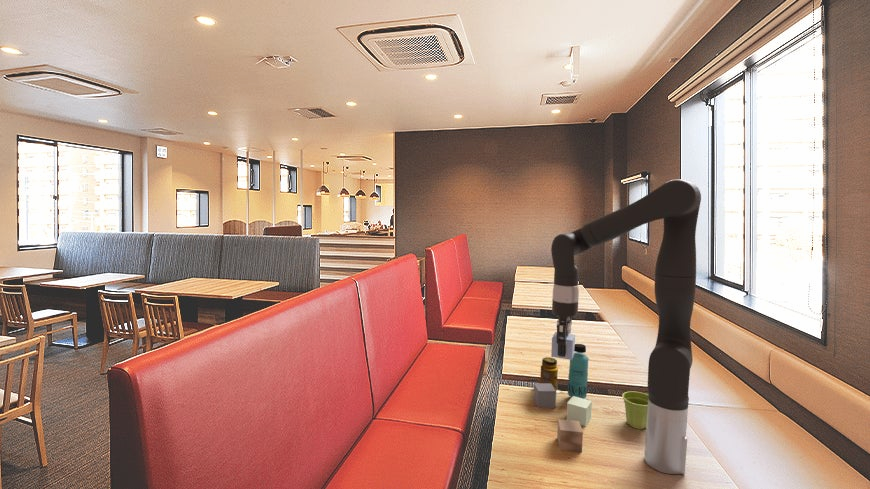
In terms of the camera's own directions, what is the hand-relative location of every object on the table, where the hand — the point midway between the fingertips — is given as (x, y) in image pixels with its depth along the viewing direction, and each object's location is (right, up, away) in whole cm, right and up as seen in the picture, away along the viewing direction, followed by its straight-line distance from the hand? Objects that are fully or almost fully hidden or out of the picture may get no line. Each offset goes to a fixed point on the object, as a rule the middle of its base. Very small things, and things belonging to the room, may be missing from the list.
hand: (563, 352), depth 128 cm
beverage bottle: (+11, -22, +19) cm, 31 cm away
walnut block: (-1, -25, -8) cm, 26 cm away
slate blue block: (0, -1, 0) cm, 1 cm away
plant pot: (+24, -24, +3) cm, 34 cm away
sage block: (+7, -23, +6) cm, 25 cm away
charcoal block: (-2, -22, +16) cm, 27 cm away
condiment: (+2, -21, +26) cm, 33 cm away
